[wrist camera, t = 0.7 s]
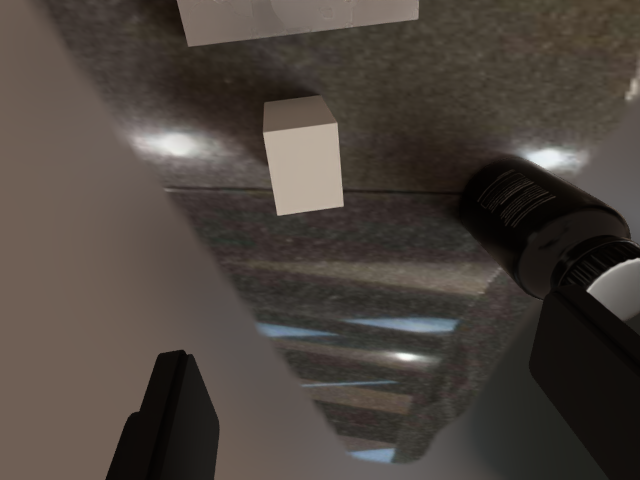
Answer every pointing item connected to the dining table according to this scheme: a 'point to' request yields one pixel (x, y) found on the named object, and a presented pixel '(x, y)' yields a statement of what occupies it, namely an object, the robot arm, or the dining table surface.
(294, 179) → the plug
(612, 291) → the supplement bottle
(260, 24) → the socket board
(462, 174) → the dining table surface
